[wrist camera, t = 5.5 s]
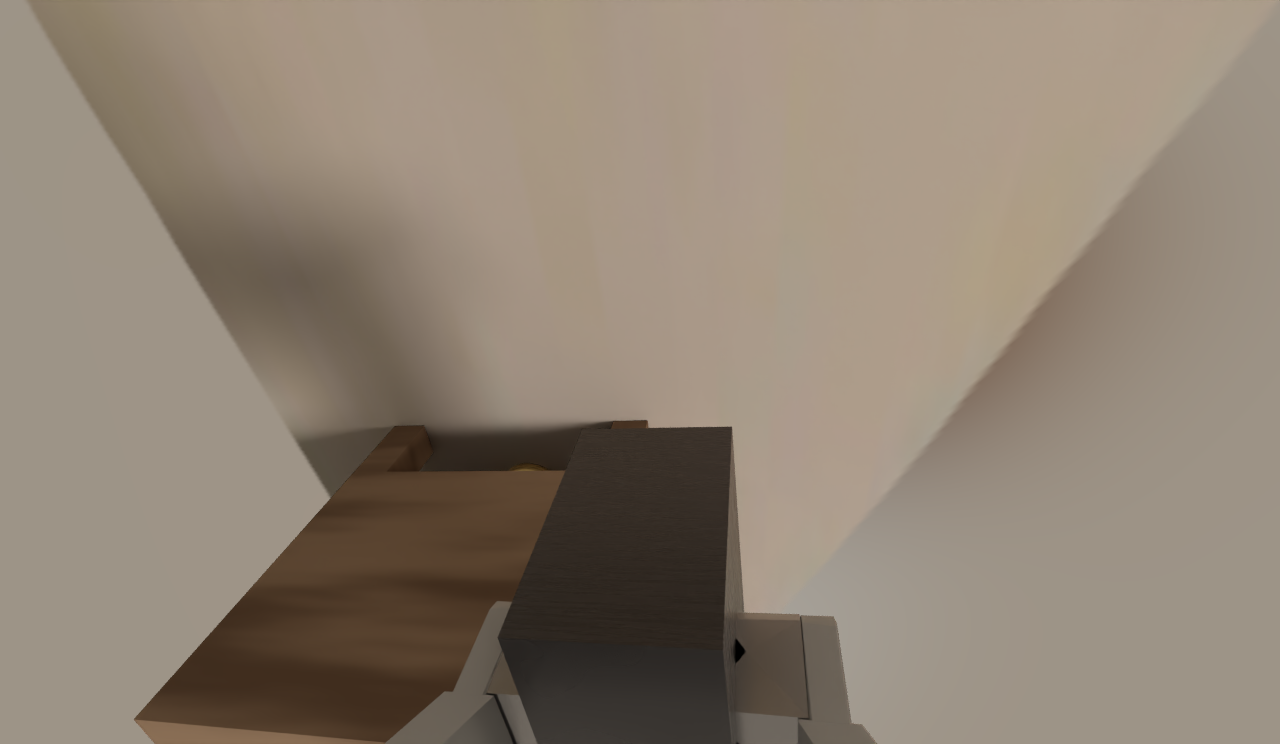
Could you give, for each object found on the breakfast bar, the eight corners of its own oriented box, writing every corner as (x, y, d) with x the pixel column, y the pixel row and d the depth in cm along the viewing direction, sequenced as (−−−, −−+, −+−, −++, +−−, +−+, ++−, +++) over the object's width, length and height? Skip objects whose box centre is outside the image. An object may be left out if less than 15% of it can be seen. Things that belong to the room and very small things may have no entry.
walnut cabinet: (394, 426, 37) (133, 719, 21) (647, 420, 34) (561, 758, 18) (445, 557, 43) (266, 870, 27) (668, 562, 39) (615, 920, 24)
